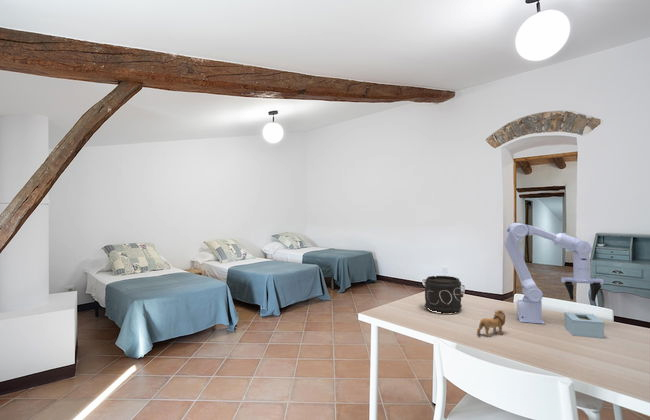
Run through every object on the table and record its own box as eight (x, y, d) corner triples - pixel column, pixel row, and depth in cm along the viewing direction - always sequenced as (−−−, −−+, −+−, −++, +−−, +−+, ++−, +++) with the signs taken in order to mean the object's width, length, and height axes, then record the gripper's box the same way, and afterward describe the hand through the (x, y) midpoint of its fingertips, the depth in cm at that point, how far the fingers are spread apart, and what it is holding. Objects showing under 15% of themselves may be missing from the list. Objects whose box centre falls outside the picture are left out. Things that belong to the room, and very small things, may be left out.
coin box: (572, 335, 134) (572, 320, 134) (564, 326, 145) (564, 312, 145) (604, 338, 131) (603, 322, 131) (593, 328, 141) (593, 314, 141)
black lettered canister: (462, 316, 160) (461, 283, 160) (422, 312, 167) (422, 280, 168) (464, 307, 176) (463, 276, 176) (428, 303, 184) (427, 274, 184)
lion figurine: (497, 329, 143) (497, 307, 143) (509, 333, 138) (509, 311, 138) (473, 335, 136) (472, 313, 136) (484, 340, 131) (484, 316, 131)
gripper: (564, 269, 146) (565, 300, 146) (606, 270, 141) (606, 303, 141) (559, 266, 152) (560, 297, 152) (599, 267, 147) (600, 299, 147)
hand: (582, 299), depth 147 cm, fingers open, 7 cm apart
